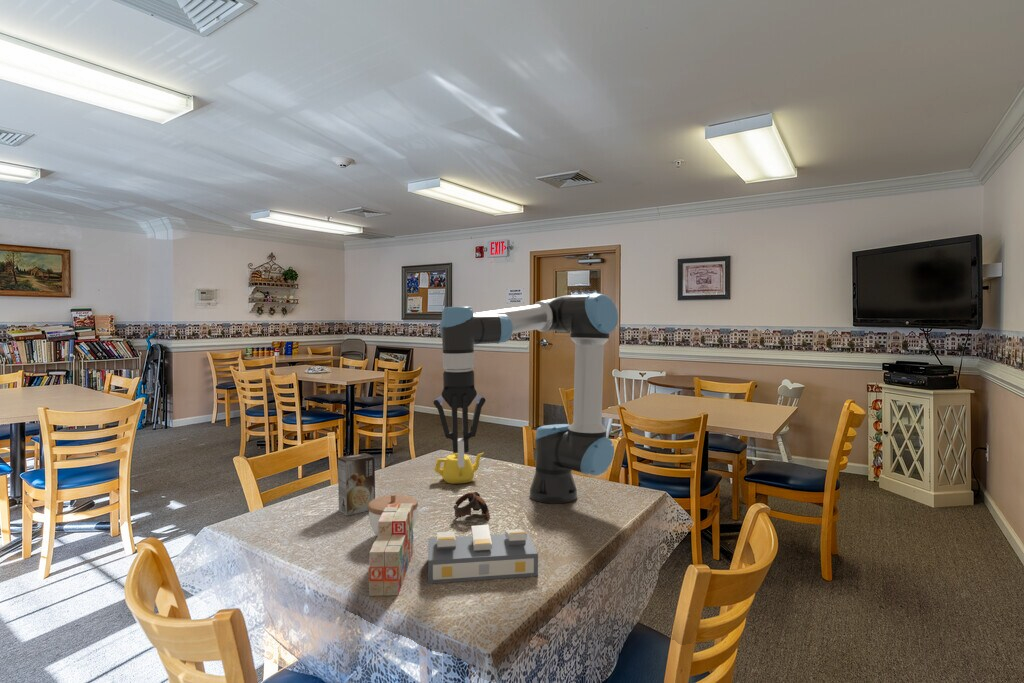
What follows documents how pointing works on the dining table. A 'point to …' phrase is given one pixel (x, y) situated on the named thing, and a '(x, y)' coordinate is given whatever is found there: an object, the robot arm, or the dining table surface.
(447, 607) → the dining table surface
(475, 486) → the dining table surface
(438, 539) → the rocker
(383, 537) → the stack of blocks
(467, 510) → the brown curved piece
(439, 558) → the switch box
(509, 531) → the small box
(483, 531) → the rocker
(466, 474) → the teapot
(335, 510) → the dining table surface
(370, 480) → the coffee box
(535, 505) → the dining table surface
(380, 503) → the lidded bowl
